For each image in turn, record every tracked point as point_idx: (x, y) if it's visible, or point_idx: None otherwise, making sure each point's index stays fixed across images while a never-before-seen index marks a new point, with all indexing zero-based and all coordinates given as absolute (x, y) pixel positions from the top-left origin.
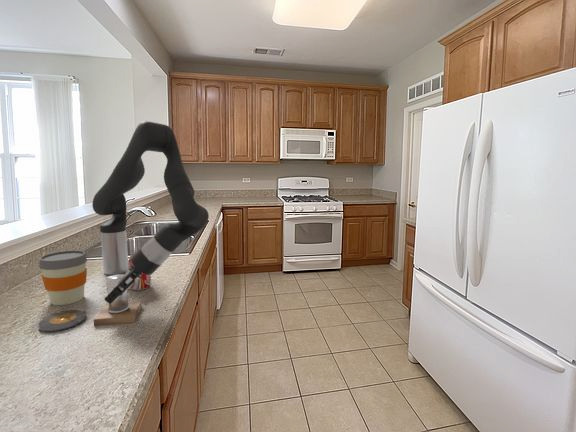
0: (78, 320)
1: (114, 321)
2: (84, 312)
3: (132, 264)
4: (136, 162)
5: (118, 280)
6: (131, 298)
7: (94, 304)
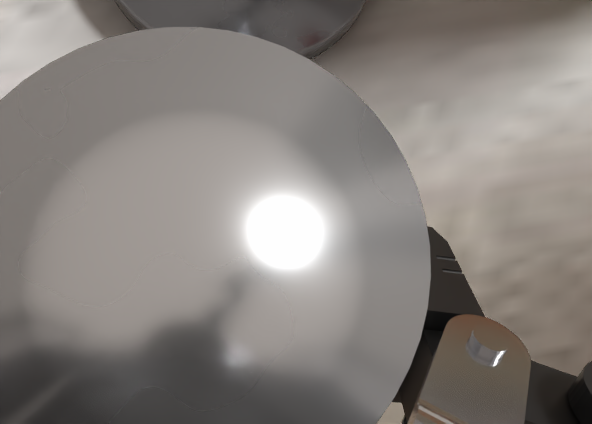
0: (164, 19)
1: None
2: (303, 35)
3: None
4: None
5: None
6: (563, 341)
7: (497, 80)
